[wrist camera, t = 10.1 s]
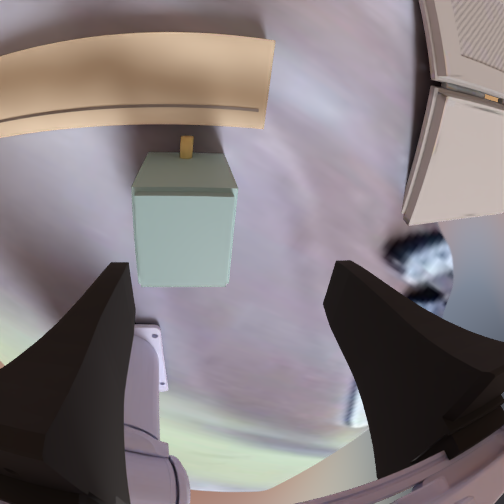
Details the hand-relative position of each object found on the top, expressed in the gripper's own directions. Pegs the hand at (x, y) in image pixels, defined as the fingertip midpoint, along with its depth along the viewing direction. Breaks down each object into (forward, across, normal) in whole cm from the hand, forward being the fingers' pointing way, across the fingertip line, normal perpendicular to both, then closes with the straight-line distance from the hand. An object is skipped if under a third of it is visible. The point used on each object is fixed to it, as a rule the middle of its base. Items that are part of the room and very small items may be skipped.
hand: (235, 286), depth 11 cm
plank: (+10, +9, -6) cm, 15 cm away
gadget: (+11, -20, -10) cm, 25 cm away
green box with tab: (+10, +2, 0) cm, 10 cm away
